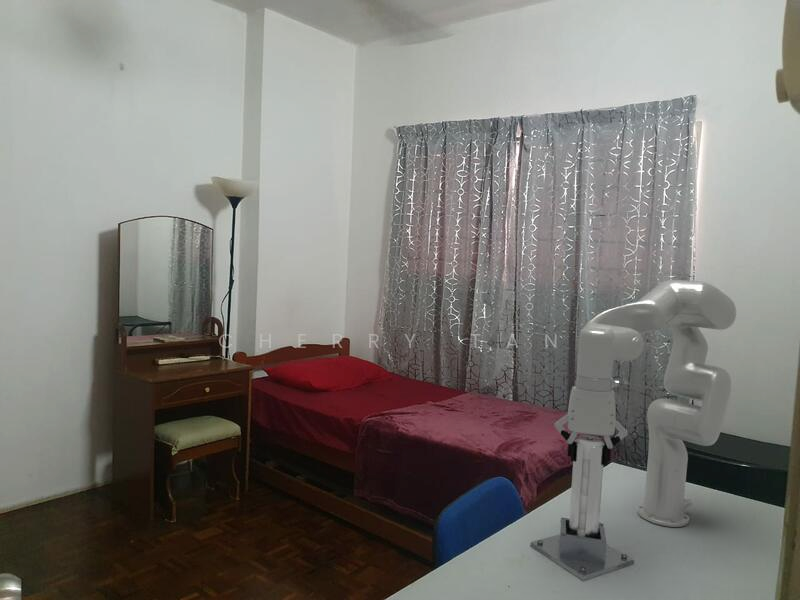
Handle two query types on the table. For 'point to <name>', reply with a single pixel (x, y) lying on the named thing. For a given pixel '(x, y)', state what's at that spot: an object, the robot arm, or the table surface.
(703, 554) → the table surface
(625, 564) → the metal base plate
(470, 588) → the table surface
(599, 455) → the air filter
